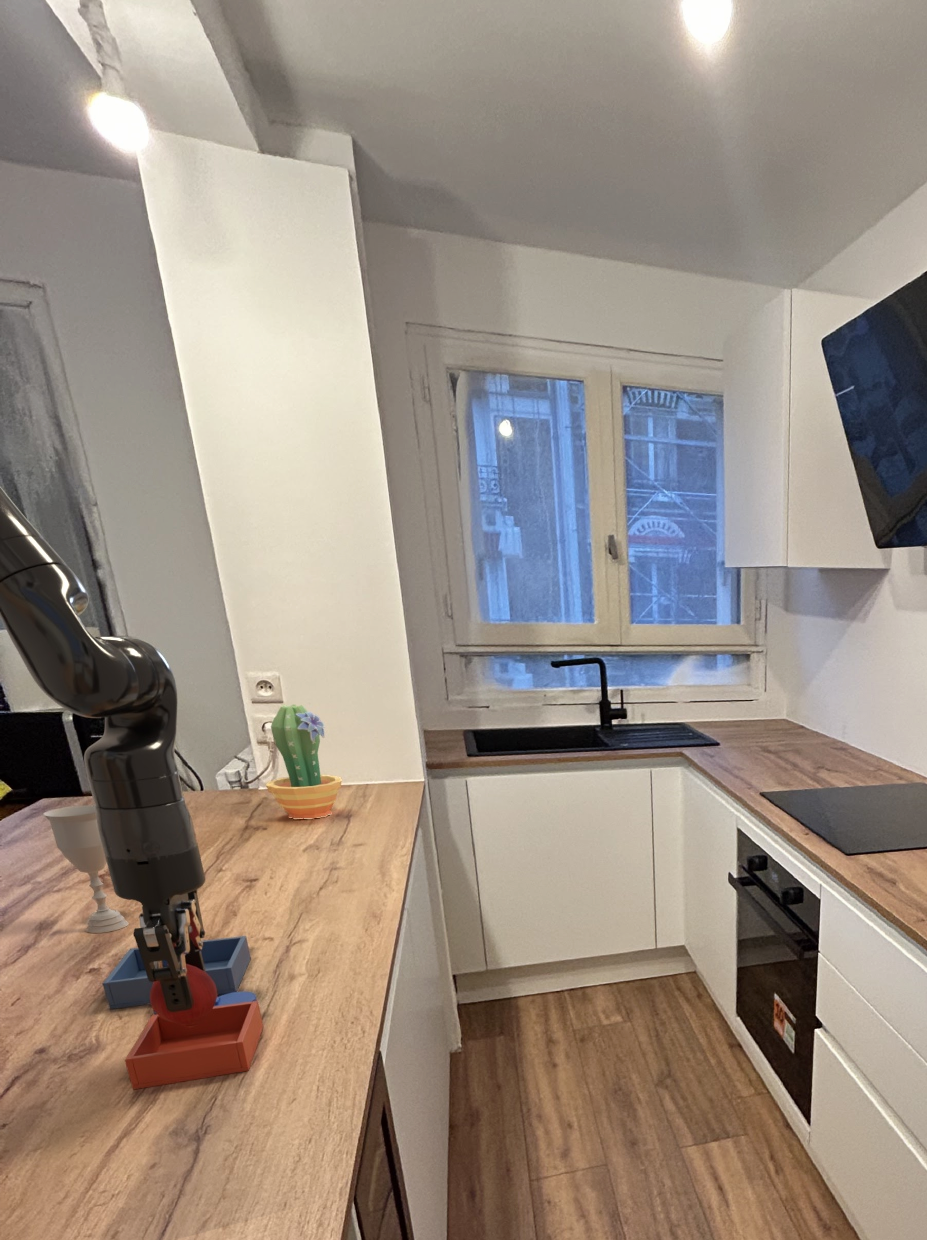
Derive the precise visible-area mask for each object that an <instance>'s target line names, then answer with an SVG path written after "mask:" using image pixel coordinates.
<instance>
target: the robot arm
mask: <svg viewBox="0 0 927 1240" xmlns="http://www.w3.org/2000/svg"><path fill="white" fill-rule="evenodd" d="M89 598H90V597H89V594H88V591H87V589H86V588H85V586H84V584H83V583H82V581H81V580H80V578H78V577H77V575H76V574H75V573H74V571H73V570H72V569H71V568H70V567H69V566H68V564H67V563H66V562H65V561H64V560H63V558H62V557H60V555H59V554H58V553H57V552H56V551H55V549H54V548H53V547H52V546H51V545H50V543H48V541H46V539H45V538H44V537H43V535H42V534H41V533H40V532H39V531H38V530H37V529H36V528H35V527H34V525H33V524H32V523H31V522H30V521H29V520H28V518H27V517H26V516H25V515H24V514H23V513H22V511H21V510H20V509H19V508H18V507H17V505H16V504H15V503H14V501H12V499H11V498H10V497H9V495H8V494H7V493H6V491H5V490H4V489H3V488H2V486H1V485H0V620H1V622H2V624H3V625H4V628H5V630H6V632H7V635H8V636H9V638H10V641H11V642H12V644H13V645H14V648H15V649H16V651H17V652H18V655H19V656H20V658H21V660H22V661H23V664H24V665H25V667H26V669H27V671H28V673H29V675H30V676H31V677H32V680H33V681H34V682H35V683H36V685H37V686H38V688H39V689H41V691H42V692H43V693H44V694H45V695H46V696H47V697H48V698H49V699H50V700H52V701H53V702H54V703H55V704H57V705H58V706H60V707H61V708H63V709H64V710H66V711H68V712H70V713H72V714H74V715H77V716H80V717H84V718H89V719H101V718H104V732H103V735H102V737H101V738H100V739H98V740H97V741H95V742H94V743H93V744H91V745H90V746H88V747H87V748H86V750H85V751H84V755H83V762H84V763H83V764H84V768H85V773H86V777H87V780H88V785H89V789H90V792H91V796H92V801H93V803H94V804H93V805H96V806H95V808H96V814H97V825H98V831H99V835H100V839H101V843H102V846H103V850H104V854H105V858H106V861H107V862H106V865H107V868H108V872H109V877H110V880H111V883H112V884H111V885H112V888H113V892H114V894H115V895H116V896H117V897H119V898H120V899H122V900H127V901H135V902H137V903H140V904H141V905H142V906H141V910H142V913H139V916H138V918H139V927H135V928H134V930H133V933H132V935H133V938H134V940H135V943H136V946H137V948H138V949H139V952H140V955H141V958H142V961H143V964H144V967H145V970H146V974H147V978H148V980H149V981H150V982H155V981H160V984H161V988H162V992H163V996H164V1000H165V1004H166V1008H167V1010H168V1011H170V1012H177V1011H184V1010H189V1009H191V1008H192V1006H193V1004H194V1001H193V997H192V993H191V989H190V985H189V981H188V977H187V974H186V973H187V969H186V964H189V965H192V966H195V967H197V968H199V969H201V970H203V971H205V966H204V962H203V958H202V954H201V950H200V949H202V946H203V942H202V941H203V940H202V939H204V938H205V936H206V931H205V928H204V923H203V918H202V913H201V907H200V901H199V897H198V889H200V888H201V887H203V886H204V884H205V882H206V875H205V870H204V866H203V862H202V857H201V853H200V849H199V844H198V840H197V836H196V830H195V825H194V822H193V819H192V816H191V813H190V810H189V808H188V806H187V803H186V799H185V797H184V792H183V788H182V787H183V786H182V783H181V778H180V775H179V769H178V766H177V762H176V759H175V750H176V749H175V748H176V740H177V728H178V727H177V724H178V689H177V684H176V683H177V682H176V678H175V676H174V672H173V671H172V668H171V667H170V664H169V662H168V661H167V659H166V658H165V656H164V655H163V654H162V653H161V652H160V650H158V648H157V647H156V646H154V645H153V644H151V643H150V642H148V641H146V640H145V639H143V638H139V637H136V636H132V635H107V636H94V635H93V634H92V633H91V632H90V631H89V630H88V629H87V628H86V626H85V624H84V623H83V621H82V619H81V618H80V616H81V615H82V614H83V613H84V612H85V611H86V609H87V607H88V606H89V601H90V599H89ZM198 950H199V951H198ZM163 960H165V961H167V962H168V964H169V967H164V968H163V964H162V961H163ZM205 972H206V971H205Z"/></svg>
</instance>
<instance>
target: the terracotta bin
mask: <svg viewBox="0 0 927 1240" xmlns="http://www.w3.org/2000/svg"><path fill="white" fill-rule="evenodd" d="M263 1029H264V1023H263V1018H262V1013H261V1009H260V1005H259V1001H258V1000H257V1001H253V1002H244V1003H237V1004H230V1005H222V1006H215V1007H213V1009H212V1010H211V1011H210V1012H209V1014H208V1015H207V1016H205V1017H204V1018H203V1019H202V1020H201V1021H200V1022H199V1023H198V1024H197V1025H195V1026H193V1027H184V1026H182V1025H180V1024H177V1023H173V1022H170V1021H167V1020H165V1019H162V1018H161V1017H160V1016H159V1015H158V1014H157V1015H154V1014H152V1015H151V1016H150V1018H149V1019H148V1021H147V1023H146V1025H145V1027H144V1028H143V1030H142V1031H141V1033H140V1034H139V1036H138V1038H137V1039H136V1041H135V1042H134V1044H133V1046H132V1048H131V1049H130V1051H129V1052H128V1054H127V1056H126V1057H125V1059H124V1063H125V1066H126V1069H127V1072H128V1073H127V1074H128V1077H129V1080H130V1084H131V1088H132V1090H139V1089H145V1088H150V1087H158V1086H163V1085H169V1084H175V1083H182V1082H187V1081H194V1080H199V1079H200V1080H201V1079H206V1078H210V1077H219V1076H224V1075H228V1074H237V1073H241V1072H248V1071H250V1067H251V1065H252V1062H253V1059H254V1057H255V1053H256V1050H257V1048H258V1044H259V1042H260V1039H261V1036H262V1032H263Z"/></svg>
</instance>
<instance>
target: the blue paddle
mask: <svg viewBox="0 0 927 1240" xmlns="http://www.w3.org/2000/svg"><path fill="white" fill-rule="evenodd" d="M253 1001H258V999H257V994H256V993H255V992H252V991H245V990H244V991H243V990H242V991H237V992H233V993H228V994H221V995H218V996H217V999H216V1002H215V1005H214V1007H215V1006H222V1005H230V1004H237V1003H244V1002H253ZM152 1011H153V1015H157V1013H156V1012H155V1011H154V1010H153V1009H152Z"/></svg>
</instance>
